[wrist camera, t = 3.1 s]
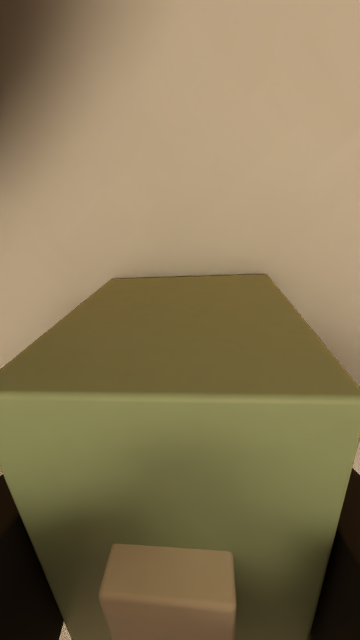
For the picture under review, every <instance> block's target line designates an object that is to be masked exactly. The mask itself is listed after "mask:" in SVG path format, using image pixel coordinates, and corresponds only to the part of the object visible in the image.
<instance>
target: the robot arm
mask: <svg viewBox="0 0 360 640" xmlns="http://www.w3.org/2000/svg"><path fill="white" fill-rule="evenodd" d="M63 622H64V619H63V617H62V615H61V612H60V610H59V607H58V605H57V603H56V600H55V598H54V595H53V593H52V591H51V588H50V586H49V583H48V581H47V579H46V576H45V574H44V571H43V569H42V567H41V564H40V562H39V559H38V557H37V555H36V552H35V550H34V547H33V545H32V543H31V540H30V538H29V535H28V533H27V531H26V528H25V526H24V523H23V521H22V519H21V516H20V514H19V511H18V509H17V507H16V504H15V502H14V499H13V497H12V495H11V492H10V490H9V487H8V485H7V483H6V480H5V478H4V475H1V476H0V640H59V637H60V633H61V629H62V626H63ZM309 637H310V640H360V475H359V474H358V473H357V472H356V471H355V470H354V469H353V468H352V470H351V474H350V478H349V482H348V486H347V490H346V494H345V498H344V502H343V506H342V510H341V514H340V518H339V522H338V526H337V530H336V533H335V537H334V541H333V545H332V549H331V553H330V557H329V561H328V565H327V569H326V573H325V577H324V581H323V585H322V589H321V593H320V597H319V600H318V604H317V608H316V612H315V616H314V620H313V624H312V628H311V632H310V636H309Z"/></svg>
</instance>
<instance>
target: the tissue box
mask: <svg viewBox="0 0 360 640" xmlns="http://www.w3.org/2000/svg"><path fill="white" fill-rule="evenodd" d="M359 439H360V387H359V386H358V385H357V384H356V382H355V381H354V380H353V379H352V378H351V376H350V375H349V374H348V373H347V371H346V370H345V369H344V368H343V367H342V365H341V364H340V363H339V362H338V360H337V359H336V358H335V357H334V356H333V354H332V353H331V352H330V351H329V349H328V348H327V347H326V346H325V345H324V343H323V342H322V341H321V340H320V339H319V337H318V336H317V335H316V334H315V332H314V331H313V330H312V329H311V328H310V326H309V325H308V324H307V323H306V321H305V320H304V319H303V318H302V317H301V315H300V314H299V313H298V312H297V310H296V309H295V308H294V307H293V306H292V304H291V303H290V302H289V301H288V299H287V298H286V297H285V296H284V295H283V293H282V292H281V291H280V290H279V289H278V287H277V286H276V285H275V284H274V282H273V281H272V280H271V279H270V278H269V276H268V275H266V274H253V275H220V276H188V277H156V278H124V279H111V280H110V281H108V282H107V283H106V284H105V285H104V286H102V287H101V288H100V289H99V290H97V291H96V292H95V293H94V294H92V295H91V296H90V297H89V298H88V299H86V300H85V301H84V302H83V303H81V304H80V305H79V306H78V307H76V308H75V309H74V310H73V311H72V312H70V313H69V314H68V315H67V316H65V317H64V318H63V319H62V320H60V321H59V322H58V323H57V324H55V325H54V326H53V327H52V328H51V329H49V330H48V331H47V332H46V333H44V334H43V335H42V336H41V337H39V338H38V339H37V340H36V341H35V342H33V343H32V344H31V345H30V346H28V347H27V348H26V349H25V350H23V351H22V352H21V353H20V354H19V355H17V356H16V357H15V358H14V359H12V360H11V361H10V362H9V363H7V364H6V365H5V366H4V367H2V368H1V369H0V468H1V471H2V473H3V475H4V478H5V480H6V483H7V485H8V487H9V490H10V492H11V495H12V497H13V499H14V502H15V504H16V507H17V509H18V511H19V514H20V516H21V519H22V521H23V523H24V526H25V528H26V531H27V533H28V535H29V538H30V540H31V543H32V545H33V547H34V550H35V552H36V555H37V557H38V559H39V562H40V564H41V567H42V569H43V571H44V574H45V576H46V579H47V581H48V583H49V586H50V588H51V591H52V593H53V595H54V598H55V600H56V603H57V605H58V607H59V610H60V612H61V615H62V617H63V619H64V622H65V624H66V627H67V629H68V631H69V634H70V636H71V639H72V640H309V636H310V632H311V628H312V624H313V620H314V616H315V612H316V608H317V604H318V600H319V597H320V593H321V589H322V585H323V581H324V577H325V573H326V569H327V565H328V561H329V557H330V553H331V549H332V545H333V541H334V537H335V533H336V530H337V526H338V522H339V518H340V514H341V510H342V506H343V502H344V498H345V494H346V490H347V486H348V482H349V478H350V474H351V470H352V466H353V463H354V459H355V455H356V451H357V447H358V443H359Z"/></svg>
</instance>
